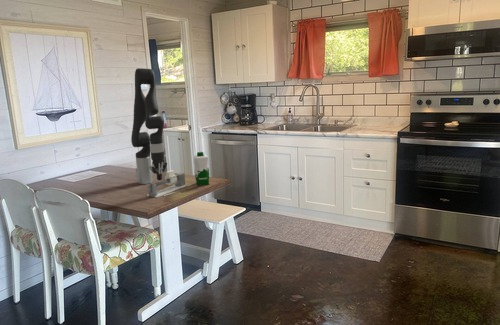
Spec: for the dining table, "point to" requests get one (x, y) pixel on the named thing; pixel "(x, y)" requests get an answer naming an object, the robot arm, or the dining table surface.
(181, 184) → the cord rig
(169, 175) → the cream stepped block
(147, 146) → the robot arm
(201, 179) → the milk carton
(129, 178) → the dining table surface
